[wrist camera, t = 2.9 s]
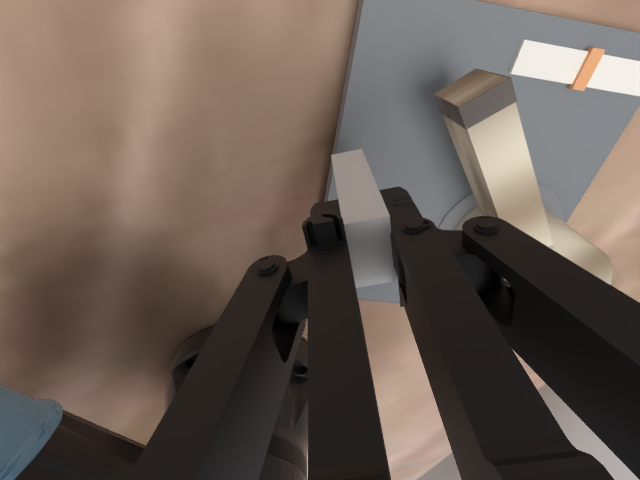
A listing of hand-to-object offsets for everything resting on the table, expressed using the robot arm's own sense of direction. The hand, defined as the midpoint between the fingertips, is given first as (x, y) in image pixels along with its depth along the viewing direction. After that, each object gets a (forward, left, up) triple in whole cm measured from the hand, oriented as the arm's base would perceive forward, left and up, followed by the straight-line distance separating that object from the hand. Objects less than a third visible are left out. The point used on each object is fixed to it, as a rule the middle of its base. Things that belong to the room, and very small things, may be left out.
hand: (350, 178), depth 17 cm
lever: (-1, -9, -4) cm, 10 cm away
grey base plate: (-2, -8, -6) cm, 11 cm away
